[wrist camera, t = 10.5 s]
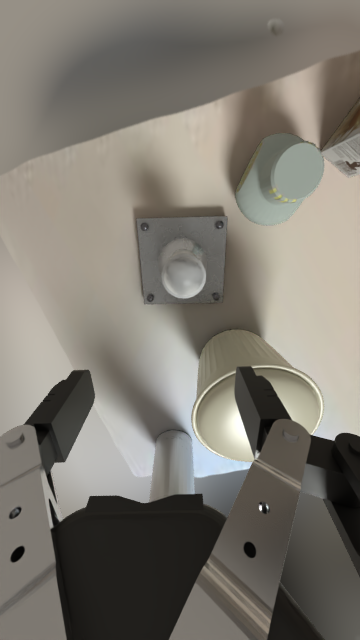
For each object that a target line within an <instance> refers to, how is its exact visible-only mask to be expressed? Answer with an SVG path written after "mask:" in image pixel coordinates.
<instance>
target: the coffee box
mask: <svg viewBox="0 0 360 640" xmlns="http://www.w3.org/2000/svg"><path fill="white" fill-rule="evenodd" d="M321 154H322V155H323V156H324V157H325V158H326V159H327V160H328V161H330V162H331V163H332V164H333V165H334V166H335V167H337V168H338V169H339V170H340V171H341V172H342V173H344V174H345V175H346V176H347V177H353V176H357V175H360V98H359V100H358V101H357V102H356V104H355V105H354V106H353V108H352V109H351V111H350V112H349V113H348V115H347V116H346V117H345V119H344V120H343V122H342V123H341V124H340V126H339V127H338V128H337V130H336V131H335V132H334V134H333V135H332V136H331V138H330V139H329V141H328V142H327V143H326V145H325V146H324V147H323V149H322V150H321Z"/></svg>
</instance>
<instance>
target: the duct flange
mask: <svg viewBox="0 0 360 640" xmlns="http://www.w3.org/2000/svg"><path fill="white" fill-rule="evenodd" d="M137 230H138V240H139V251H140V262H141V272H142V283H143V294H144V304H177V303H222V302H223V284H224V266H225V249H226V231H227V216H214V217H176V218H138V219H137ZM180 249H187V250H190V251H192V252H193V253H194V254H195V255H196V257H197V258H198V259H199V260H200V261H201V262H202V264H203V266H204V268H205V271H206V281H205V284H204V286H203V288H202V290H201V291H200V292H199V293H198V294H196V295H195V296H193V297H190V298H177V297H175V296H173V295H171V294H170V293H169V292H168V291H167V290H166V289H165V287H164V285H163V282H162V271H163V268H164V265H165V264H166V262H167V261H168V260H169V258H170V256H171V255H172V254H173V253H174V252H175V251H177V250H180Z"/></svg>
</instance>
